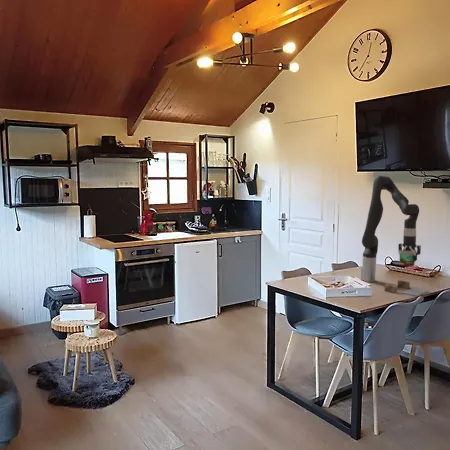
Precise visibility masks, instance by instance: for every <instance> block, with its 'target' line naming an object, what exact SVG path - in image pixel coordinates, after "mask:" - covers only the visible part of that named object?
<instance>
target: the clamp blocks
mask: <svg viewBox="0 0 450 450" xmlns="http://www.w3.org/2000/svg"><path fill="white" fill-rule="evenodd" d="M410 286H411V284H410V281H406V280H399V279H398V280H397V285H394V284H389V283H387V284H384V292H387V293H393V294H396V293H397V292H398V287H399V288H402V289H409V288H410ZM410 289H411V288H410Z"/></svg>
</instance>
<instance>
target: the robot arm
mask: <svg viewBox="0 0 450 450" xmlns="http://www.w3.org/2000/svg"><path fill="white" fill-rule="evenodd" d="M382 190H386V191H387V192H388V193H390V195H391V199H392V200H393V202H394V203H395V204H396V205H397V206H398V207H399V210H400V211H401V213H402V214H404V216H408V218H406V219H404V224H403V225H404V227H403V228H404V229H403V237H402V238H403V239H402V240H403V243H398V247H397V248H398V253H399V250H402V251H412V252H413V254H414V261H415V262H417V261H418V256H419V255H421V251H422V249H421V247H422V245H418V244H417V221H418V218H419V213H420V207H419V206H418V204H415V203H412V204H411V203H410V201H409V199H408V198H407V197H406V196H405V195H404V194H403V193H402V191H400V190H399V188H398V187H397V186H396V184H395V183H394V181H393V180H392V178H391V177H389V176H387V175H386V176H385V175H377V176H375V177H374V180H373V184H372V193H371V200H370V203H369V204H370V205H369V209H368V212H367V213H368V214H367V220H366V224H365V229H364V232H363V236H362V239H361V243H362V246H363V247H364V250H363V252H362V265H361V266H360V267H361V268H360V281H363V280H364V281H363V282H366V283H367V282H368V283H369V282H370V283H372V282H373V283H374V282H376V272H377V271H376V269H377V254H378V249H379V239H378V236H377V235H376V230H377V228H378V226H379V224H380V222H381V220H382V217H383V214H384V213H383V212H384V206H383V202H382V200H381V199H382V198H381V195H382ZM409 203H410V204H409Z"/></svg>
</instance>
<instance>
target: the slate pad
mask: <svg viewBox="0 0 450 450" xmlns="http://www.w3.org/2000/svg"><path fill="white" fill-rule="evenodd" d="M427 293H429V290H423V289H417V288H414V287H413V288H410V289H407V290H404V291H402V292H401V295H402V294H404V295H407V296H411V297H419V296H423V295H424V294H427Z"/></svg>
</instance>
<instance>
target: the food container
mask: <svg viewBox="0 0 450 450" xmlns="http://www.w3.org/2000/svg"><path fill="white" fill-rule="evenodd" d="M398 255H399V266H403V267H413V266H415V263H416V261H414V254H413V252H412V251H403V249H402V250H399V252H398Z"/></svg>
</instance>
